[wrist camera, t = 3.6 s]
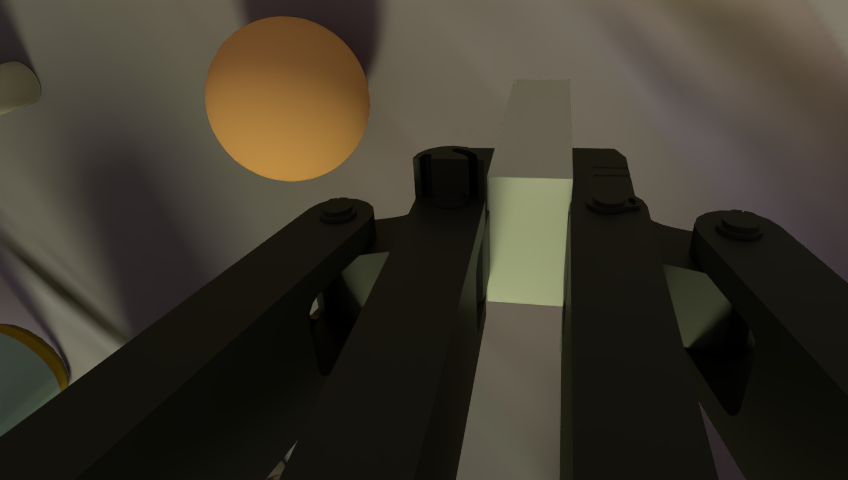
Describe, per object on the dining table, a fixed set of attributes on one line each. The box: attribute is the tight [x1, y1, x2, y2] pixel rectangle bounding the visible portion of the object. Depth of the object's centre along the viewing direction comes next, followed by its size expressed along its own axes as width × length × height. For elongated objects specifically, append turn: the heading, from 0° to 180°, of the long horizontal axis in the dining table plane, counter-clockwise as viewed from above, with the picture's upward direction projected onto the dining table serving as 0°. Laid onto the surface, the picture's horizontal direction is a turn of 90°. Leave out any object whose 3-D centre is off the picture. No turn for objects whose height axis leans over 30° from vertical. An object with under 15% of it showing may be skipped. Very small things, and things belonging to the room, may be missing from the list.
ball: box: [205, 16, 370, 181], centre depth 22 cm, size 6×6×6 cm
